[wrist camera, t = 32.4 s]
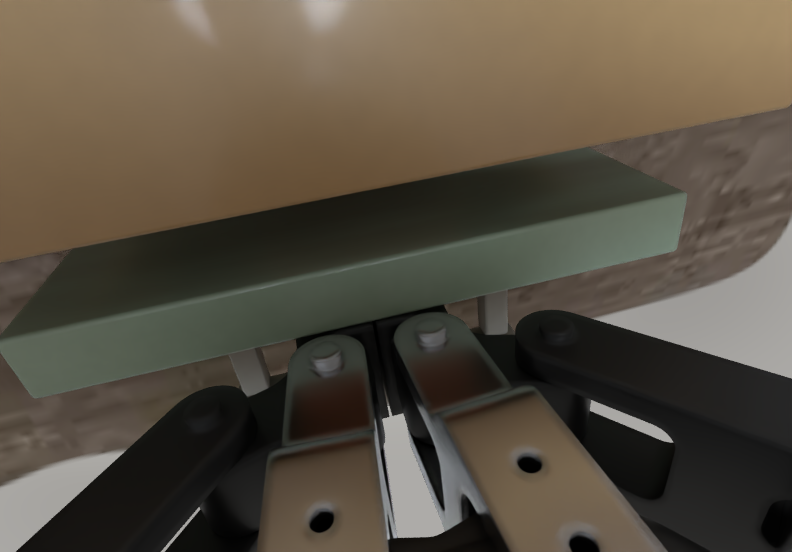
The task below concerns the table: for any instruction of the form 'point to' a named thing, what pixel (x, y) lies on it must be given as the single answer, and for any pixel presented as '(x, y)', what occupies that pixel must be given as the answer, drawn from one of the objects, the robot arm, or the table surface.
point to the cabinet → (340, 97)
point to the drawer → (334, 268)
